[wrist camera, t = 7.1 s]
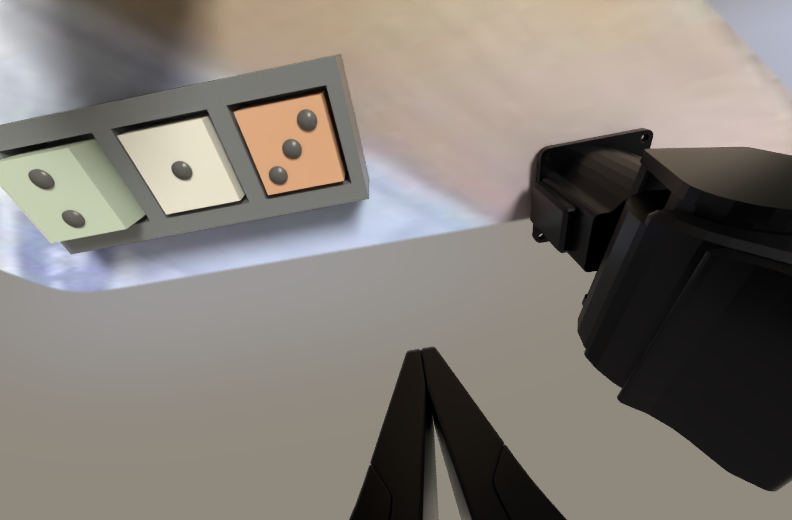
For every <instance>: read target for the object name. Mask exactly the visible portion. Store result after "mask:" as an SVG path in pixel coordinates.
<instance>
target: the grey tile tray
mask: <svg viewBox="0 0 792 520" xmlns="http://www.w3.org/2000/svg"><path fill="white" fill-rule="evenodd" d="M322 89H327V91H328V95H329V98H330V102H331V106H332V110H333V114H334V118H335V122H336V125H337V129H338V133H339V137H340V141H341V145H342V149H343V152H344V156H345V160H346V164H347V169H346V174H345V179H344V181H340V182H335V183H330V184H325V185H319V186H314V187H309V188H303V189H298V190H293V191H288V192H282V193H277V194H272V195H268V194H267V191H266V189H265V186H264V184H263V182H262V179H261V177H260V174H259V172H258V170H257V167H256V165H255V162H254V160H253V158H252V155H251V153H250V150H249V148H248V146H247V143H246V141H245V139H244V136H243V134H242V131H241V129H240V127H239V124H238V122H237V119H236V117H235V115H234V112H235V111H237V110H239V109H241V108H243V107H245V106H248V105H250V104H253V103H258V102H263V101H267V100H272V99H277V98H282V97H287V96H292V95H297V94H302V93H307V92H312V91H317V90H322ZM204 113H209V115H210V117H211V119H212V121H213V124H214V126H215V128H216V130H217V132H218V135H219V137H220V139H221V141H222V143H223V146H224V148H225V150H226V152H227V154H228V156H229V159H230V161H231V163H232V165H233V167H234V170H235V172H236V174H237V176H238V178H239V181H240V183H241V185H242V187H243V189H244V191H245V195H244V197H243V198H242V199H241V200H240V201H235V202H230V203H225V204H219V205H214V206H209V207H204V208H198V209H193V210H188V211H182V212H177V213H172V214H167V215H166V213H165V212H164V210H163V209H162V207H161V205H160V204H159V202H158V201H157V199H156V197H155V196H154V194H153V193H152V191H151V189H150V188H149V186H148V185H147V183H146V181H145V180H144V178H143V177H142V175H141V173H140V172H139V170H138V169H137V167H136V165H135V164H134V162H133V161H132V159H131V157H130V156H129V154H128V153H127V151H126V149H125V148H124V146H123V145H122V143H121V141H120V140H119V138H118V137H117V136H118V135H121V134H124V133H126V132H129V131H132V130H135V129H138V128H141V127H143V126H146V125H149V124H154V123H159V122H164V121H169V120H174V119H179V118H184V117H189V116H194V115H199V114H204ZM94 137H95V138H96V140H97V141H98V143H99V144H100V146H101V147H102V149H103V150H104V152H105V153H106V155H107V156H108V158H109V160H110V161H111V163H112V164H113V166H114V167H115V169H116V170H117V172H118V173H119V175H120V176H121V178H122V179H123V181H124V182H125V184H126V185H127V187H128V188H129V190H130V191H131V193H132V194H133V196H134V197H135V199H136V200H137V202H138V203H139V205H140V206H141V208H142V209H143V211H144V212H145V214H146V215H145V216H143V217H142V218H141V219H139V220H138V221H137V222H135V223H134V224H133V225H131V226H130V227H129V228H127V229H124V230H119V231H114V232H108V233H103V234H98V235H92V236H87V237H82V238H76V239H71V240H66V241H61V243H62V244H63V246H64V247H65V248H66V249H67V250H68V251H69V252H70V254H75V253H81V252H86V251H92V250H97V249H102V248H108V247H113V246H118V245H124V244H129V243H134V242H140V241H145V240H150V239H156V238H161V237H167V236H172V235H177V234H183V233H188V232H193V231H199V230H204V229H209V228H215V227H220V226H226V225H231V224H236V223H242V222H247V221H252V220H258V219H263V218H268V217H274V216H279V215H285V214H290V213H295V212H301V211H306V210H311V209H317V208H322V207H327V206H333V205H338V204H343V203H349V202H354V201H360V200H365V199H369V176H368V171H367V167H366V162H365V158H364V154H363V149H362V145H361V140H360V136H359V131H358V127H357V122H356V118H355V114H354V109H353V105H352V100H351V96H350V91H349V87H348V83H347V78H346V74H345V69H344V65H343V60H342V56H341V54H339V55H334V56H329V57H324V58H319V59H315V60H310V61H305V62H300V63H295V64H291V65H286V66H281V67H276V68H271V69H266V70H262V71H257V72H252V73H247V74H242V75H238V76H233V77H228V78H223V79H218V80H213V81H209V82H204V83H199V84H194V85H189V86H185V87H180V88H175V89H170V90H165V91H160V92H156V93H151V94H146V95H141V96H136V97H132V98H127V99H122V100H117V101H112V102H107V103H103V104H98V105H93V106H88V107H83V108H79V109H74V110H69V111H64V112H59V113H54V114H50V115H45V116H40V117H35V118H30V119H26V120H21V121H16V122H11V123H7V124H2V125H0V160H1V159H5V158H8V157H11V156H15V155H18V154H21V153H24V152H28V151H31V150H35V149H40V148H45V147H50V146H55V145H60V144H65V143H70V142H75V141H79V140H84V139H89V138H94Z"/></svg>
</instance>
